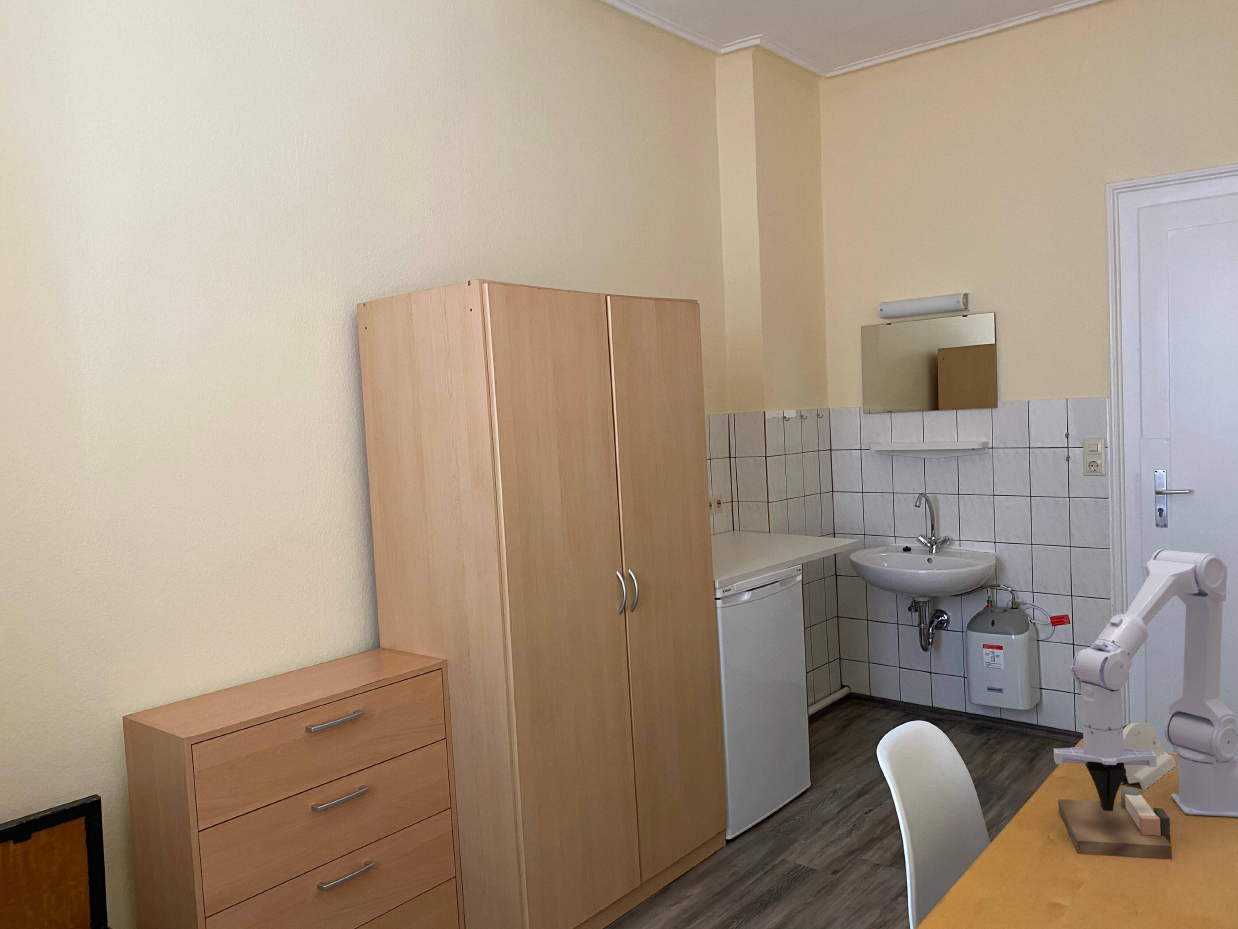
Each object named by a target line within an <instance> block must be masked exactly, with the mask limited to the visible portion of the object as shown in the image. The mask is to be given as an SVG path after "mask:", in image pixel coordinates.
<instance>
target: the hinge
mask: <svg viewBox="0 0 1238 929" xmlns="http://www.w3.org/2000/svg"><path fill="white" fill-rule="evenodd" d="M1123 741H1124V748H1126V749H1134V750H1142V751H1153V752H1154V753H1155V755H1156V761H1157V767H1149V766H1148V765H1124V768H1125V769H1126V776H1125V778H1124V779H1123V781H1122V783H1121V785H1123V784H1124V783H1127V782H1128V784H1135V783H1139V785H1140V788H1141V789H1142V791H1143V790H1144V791H1146V790H1148V789H1149V788H1151V787H1152V786H1153V785H1154V784H1155V783H1156V782H1158V781H1159V780H1161V778H1163V775H1164V776H1165V775H1166V774H1167V773H1169V772H1170V771H1171V770H1172V769H1174V768H1175V767H1176V766H1177V763H1176V760H1175V758H1174V757H1173V755H1171V754H1170V755H1168V754H1169V753H1168V752H1166V751H1165V749H1164V747H1163V745H1162V742H1161V741H1160V739H1159V737H1158V735H1157V733H1156V731H1155V729H1154V726H1153V725H1152V724H1151V723H1148V722H1132V723H1125V724H1123ZM1162 753H1164V754H1162ZM1173 767H1174V768H1173ZM1168 771H1169V772H1168ZM1158 779H1159V780H1158ZM1157 780H1158V781H1157ZM1153 783H1154V784H1153ZM1152 784H1153V785H1152ZM1148 787H1149V788H1148ZM1147 788H1148V789H1147Z"/></svg>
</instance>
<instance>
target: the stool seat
mask: <svg viewBox="0 0 1238 929" xmlns="http://www.w3.org/2000/svg"><path fill="white" fill-rule="evenodd" d="M1057 804H1058V812H1059V815H1060V817H1061V819H1062V820H1063V823H1064V825H1065V828H1066V830H1067V832H1068V835H1069V837H1070V839H1071V841H1072V844H1073V845H1074V847H1075V850H1076V852H1077V854H1085V855H1100V856H1114V857H1116V856H1117V857H1133V858H1134V857H1135V858H1152V859H1168V860H1172V859H1173V854H1172V852H1173V851H1172V844H1171V843H1172V842H1171V818H1170V817H1169V816H1168V813H1166V811H1165V810H1164V809H1163V808H1162V807H1153V812H1154V813H1155V814H1156V816H1158V817H1159V818H1160V830H1161V836H1157V835H1142V834H1141V832H1140V829H1139V828H1138V826H1137V825H1136V823H1135V822H1134V820H1133V818H1132V817H1131V815H1130V814H1129V812H1128V811H1127V809H1126V808H1124V807H1122V806H1121V801H1114V806H1113V811H1104V810H1103V809H1102V807H1101V804H1100V800H1089V799H1088V800H1087V799H1086V800H1084V799H1063V798H1061V799H1060V798H1058V799H1057Z"/></svg>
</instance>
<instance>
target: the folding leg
mask: <svg viewBox="0 0 1238 929" xmlns="http://www.w3.org/2000/svg"><path fill="white" fill-rule="evenodd" d="M1119 791H1120V802H1121V806H1122V807H1124V808H1126V809H1127V811H1128V812H1129V814H1130V815H1131V817H1132V818H1133V820H1134V822H1135V823H1136V825H1137V826H1138V828H1139V829H1140V832H1141V834H1142V835H1157V836H1161V830H1160V818H1159V817H1158V816H1156V814H1155V813H1154V809H1152V808H1151V806H1150V804H1148V802H1147V801H1146V800H1145V798H1144V797H1143V790H1141V789H1140V788H1137V787H1133V786H1123V787H1121V788H1120V790H1119Z"/></svg>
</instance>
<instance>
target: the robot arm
mask: <svg viewBox="0 0 1238 929" xmlns="http://www.w3.org/2000/svg"><path fill="white" fill-rule="evenodd" d="M1145 566H1146V567H1145V568H1146V569H1145V570H1146V571H1145V572H1146V579H1145V580H1144V582H1143V584H1142V586H1141V587H1140V589H1139V590H1138V592H1137V594H1136V596H1135V597H1134V599H1133V600H1132V602H1131V603H1130V605H1129V607H1128V609H1127V610H1126V612H1125V613H1124V614H1123V613H1120V614H1116V615H1115V614H1114V616H1112V617H1111V619H1110V620H1109V622H1108V623H1107V624H1106V626H1105V627H1104V629H1102V631H1101V633H1099V635H1098V636H1097V638H1096V639H1095V640H1094V641H1093V643H1092V644H1091V646H1090V647H1087V648H1083V649H1081V650H1080V651H1078V652H1077V653H1076V654H1075V655H1074V657H1073V660H1072V665H1071V666H1070V672H1071V676H1072V677H1073V679H1074V680H1075V682H1076V687H1077V688H1076V689H1077V691H1078V693H1079V694H1080V697H1081V701H1080V702H1081V720H1082V735H1083V736H1082V737H1083V739H1082V740H1083V746H1078V747H1077V746H1076V747H1075V746H1074V747H1066V748H1063V747H1062V748H1053V760H1054V762H1055V764H1056V765H1064V764H1083V765H1085V767H1086V769H1087V771H1088V773H1089V774H1090V776H1091V779H1092V781H1093V783H1094V786H1095V789H1096V792H1097V795H1098V798H1099V801H1100V804H1101V807H1102V809H1103V810H1104V811H1113V806H1114V802H1116V798H1117V793H1118V792H1119V788H1120V786H1121V785H1122V784H1121V783H1122V781H1123V779H1124V778H1125V776H1126V769H1125V768H1124V765H1148V766H1149V767H1157V761H1156V755H1155V753H1154V752H1153V751H1142V750H1134V749H1126V748H1124V741H1123V725H1124V724H1123V707H1122V688H1123V687H1124V686H1126V684H1127V683H1128V681H1129V678H1130V670H1131V668H1132V666H1133V661H1132V659H1133V658H1134V657H1135V655H1136V654H1137V653H1138V652H1139V651H1140V649H1141V647H1142V646H1143V645H1144V643H1145V641H1146V640H1147V639H1148V637H1149V631H1148V629H1147V626H1148V624H1149V623H1150V622H1152V620H1153V619H1154V618H1155V617H1156V615H1158V613H1159V612H1160V611H1161V610H1162V609H1163V608H1164V606H1165V605H1167V603H1168V602H1169V601H1170V600H1171V599H1172V598H1173V597H1174V596H1176V597H1178V598H1179V600H1180V601H1181V602H1183V604H1184V605H1185V623H1184V625H1185V627H1184V652H1183V653H1184V654H1183V681H1182V696H1181V697H1178V698H1177V699H1176V700H1173V701H1172V702H1171V703H1169V704H1168V714H1167V717H1166V719H1165V721H1164V727H1163V732H1164V736H1165V739H1166V741H1167V743H1168V744H1170V745H1171V746H1172V751H1173V752H1175V753H1177V755H1176V756H1177V772H1178V776H1177V777H1178V793H1172V794H1171V797H1172V799H1173V800H1174V802H1175V803H1176V804H1177V805H1178V807H1179V808H1180V809H1181V811H1182V812H1183V814H1185V815H1192V816H1195V815H1196V816H1211V817H1213V816H1214V817H1216V816H1217V817H1231V818H1232V817H1237V818H1238V756H1235V755H1236V754H1237V753H1238V726H1237V716H1236V715H1235V713H1234V712H1233V711H1232V710H1231V709H1230V708H1228V707H1227V705H1225V704H1224V703H1223V702H1222V701H1221V700H1220V693H1221V692H1220V690H1221V666H1222V665H1221V663H1222V662H1221V659H1222V658H1221V656H1222V636H1223V635H1222V632H1223V631H1222V630H1223V627H1222V626H1223V609H1224V608H1223V607H1224V606H1223V605H1224V604H1223V603H1224V602H1225V601H1226V600H1227V582H1228V581H1227V578H1228V577H1227V576H1228V575H1227V574H1228V566H1227V565H1226V564H1225V563H1224V561H1223V560H1222V559H1221V558H1220V557H1219V555H1217V554H1215V553H1212V552H1208V553H1205V552H1204V553H1202V552H1192V551H1180V550H1172V549H1171V550H1169V549H1165V548H1160V549H1158V550H1156V551H1154V552H1153V554H1152V555H1151V557H1150V560H1149V561H1148V562H1147V563H1146V565H1145Z"/></svg>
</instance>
